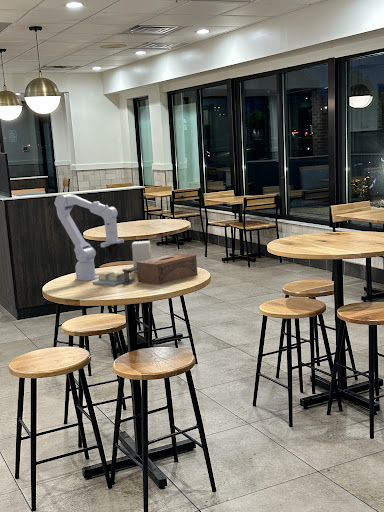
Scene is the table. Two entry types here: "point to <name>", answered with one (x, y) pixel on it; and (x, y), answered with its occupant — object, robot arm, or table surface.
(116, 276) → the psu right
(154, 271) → the tissue box cover
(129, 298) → the table surface
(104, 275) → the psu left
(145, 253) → the supplement box
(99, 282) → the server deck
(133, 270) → the swing bar
